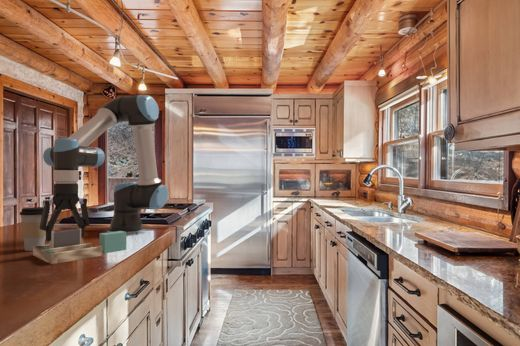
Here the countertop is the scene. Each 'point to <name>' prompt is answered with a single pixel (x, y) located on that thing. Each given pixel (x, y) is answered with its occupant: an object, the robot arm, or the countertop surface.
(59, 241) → the gray rectangular block
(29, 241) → the coffee cup
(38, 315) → the countertop surface
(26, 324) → the countertop surface
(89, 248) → the slot rack
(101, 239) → the teal stub
